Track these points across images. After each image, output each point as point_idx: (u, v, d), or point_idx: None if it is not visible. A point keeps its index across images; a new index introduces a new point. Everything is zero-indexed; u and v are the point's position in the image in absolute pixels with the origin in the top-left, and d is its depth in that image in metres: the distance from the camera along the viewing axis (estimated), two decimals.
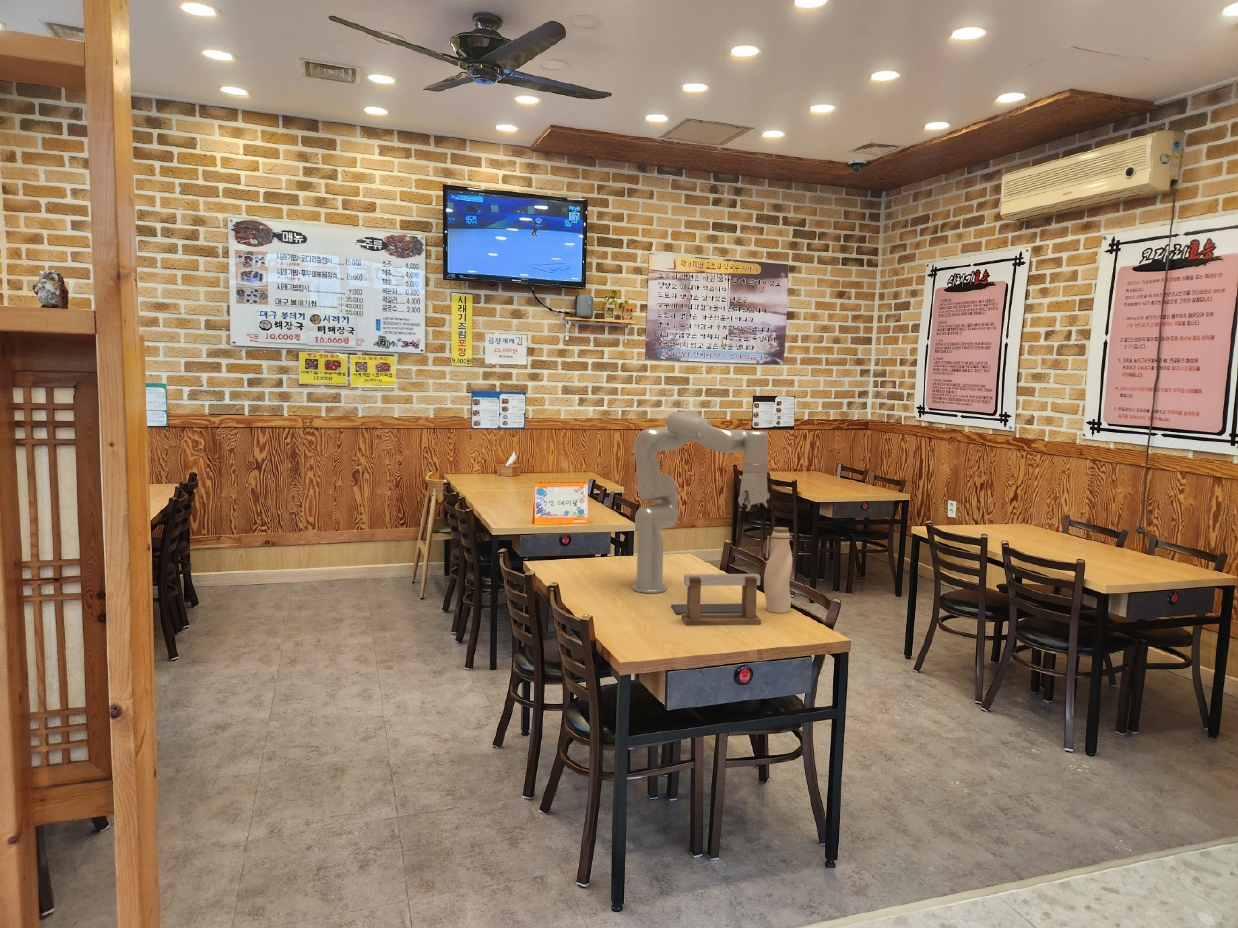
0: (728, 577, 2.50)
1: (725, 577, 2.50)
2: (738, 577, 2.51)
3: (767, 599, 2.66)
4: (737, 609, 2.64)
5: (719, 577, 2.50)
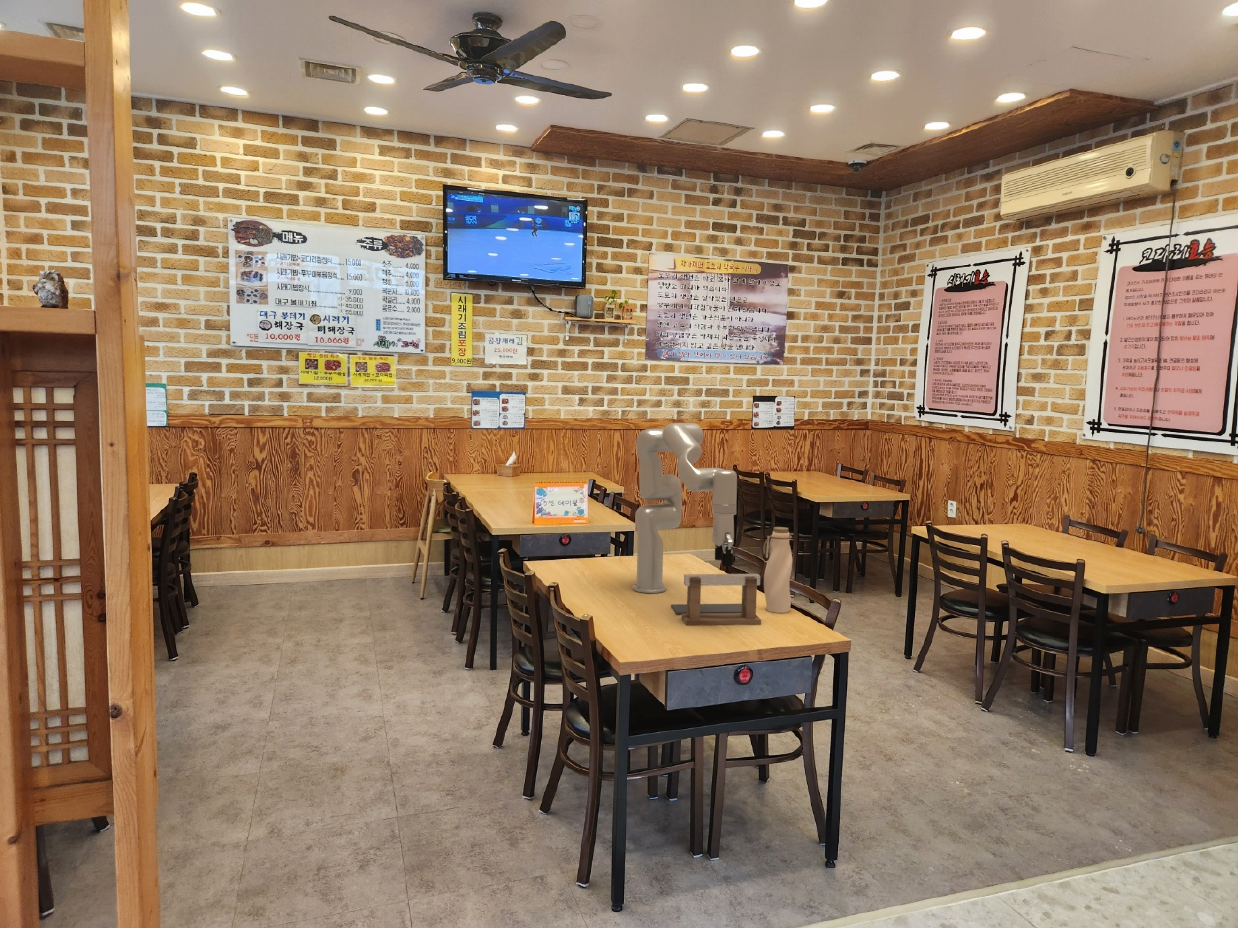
0: (728, 577, 2.50)
1: (725, 577, 2.50)
2: (738, 577, 2.51)
3: (767, 599, 2.66)
4: (737, 609, 2.64)
5: (719, 577, 2.50)
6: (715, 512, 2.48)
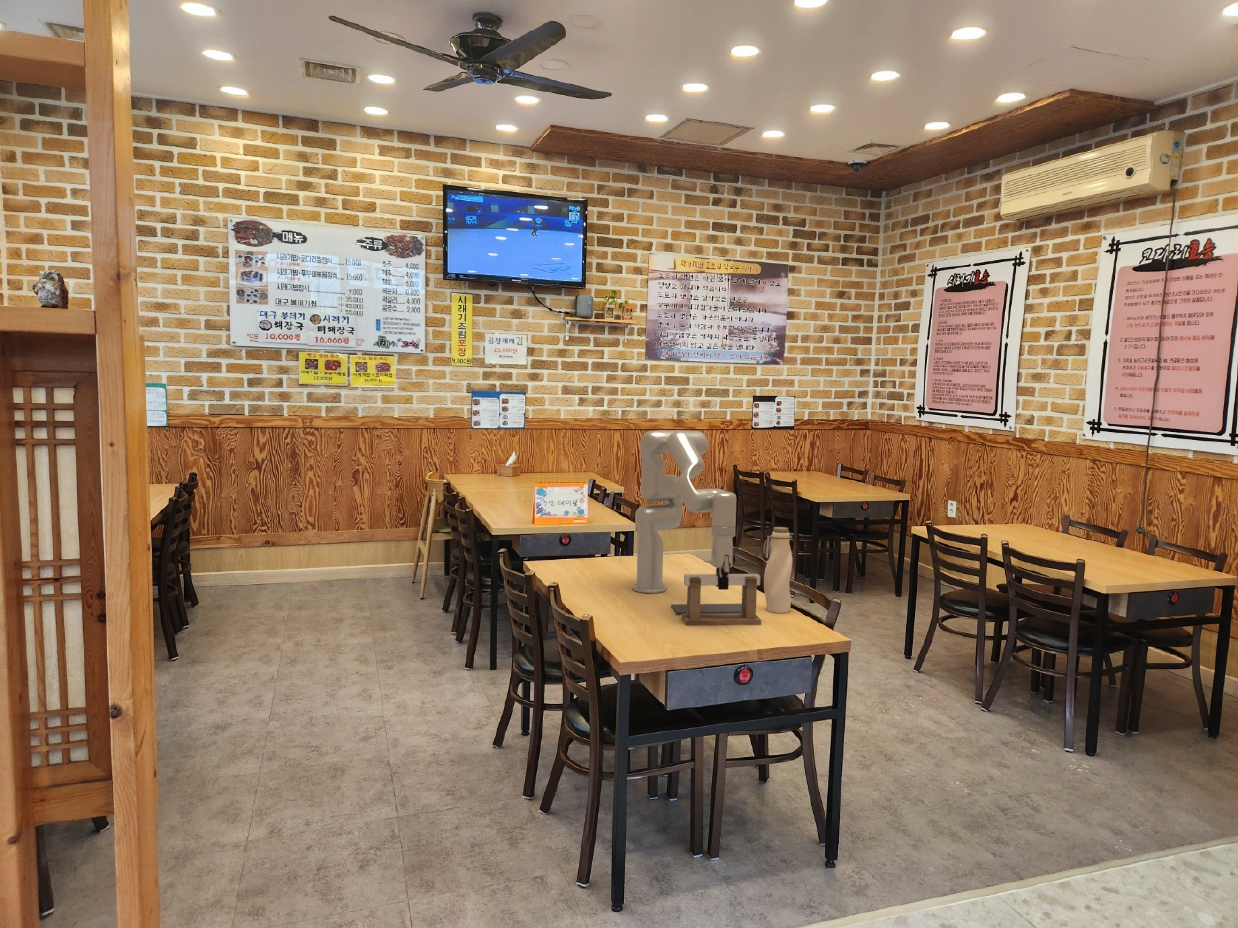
0: None
1: None
2: (738, 577, 2.51)
3: (767, 599, 2.66)
4: (737, 609, 2.64)
5: None
6: (714, 534, 2.48)
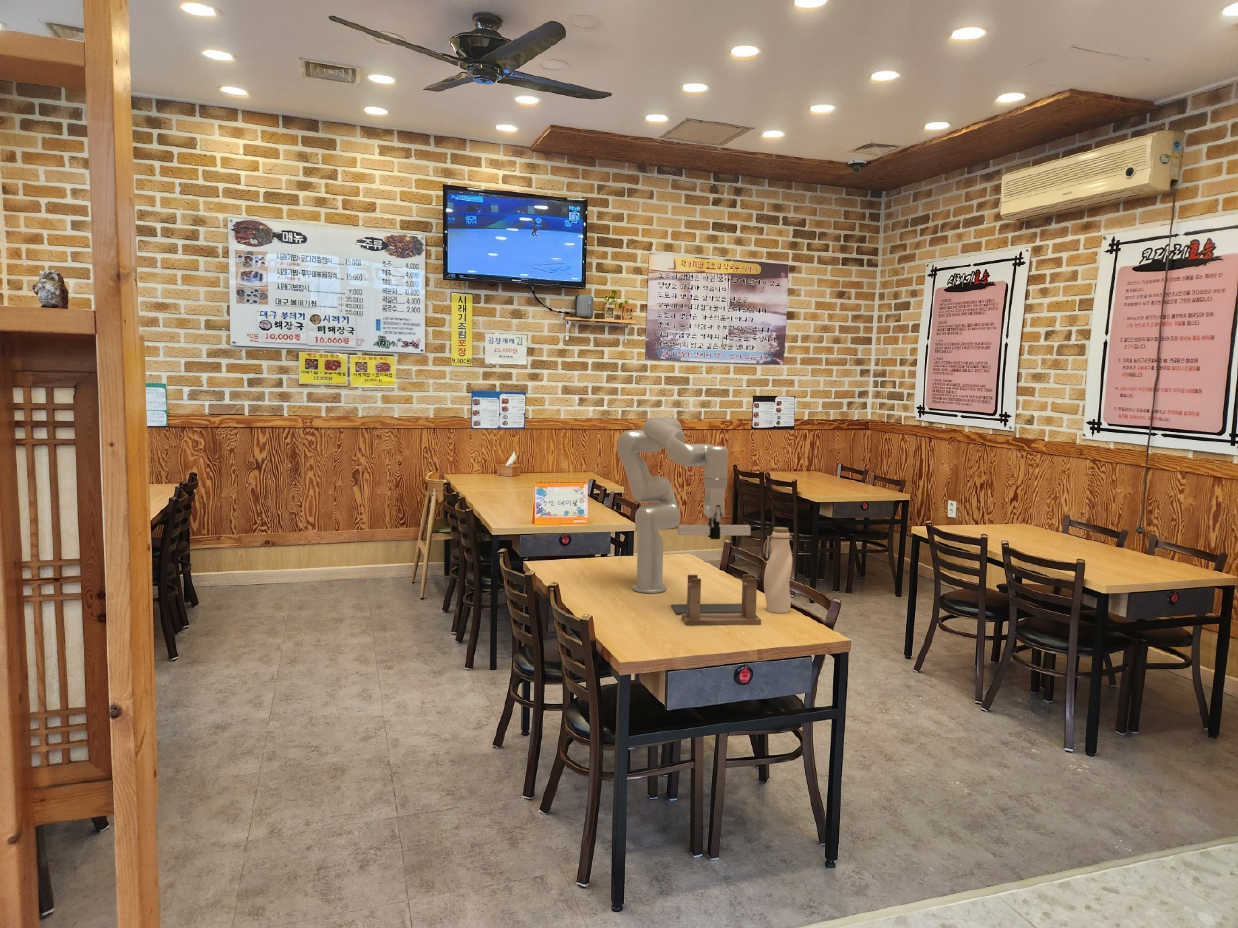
0: (720, 527, 2.62)
1: None
2: (729, 527, 2.62)
3: (767, 599, 2.66)
4: (737, 609, 2.64)
5: None
6: (707, 486, 2.60)
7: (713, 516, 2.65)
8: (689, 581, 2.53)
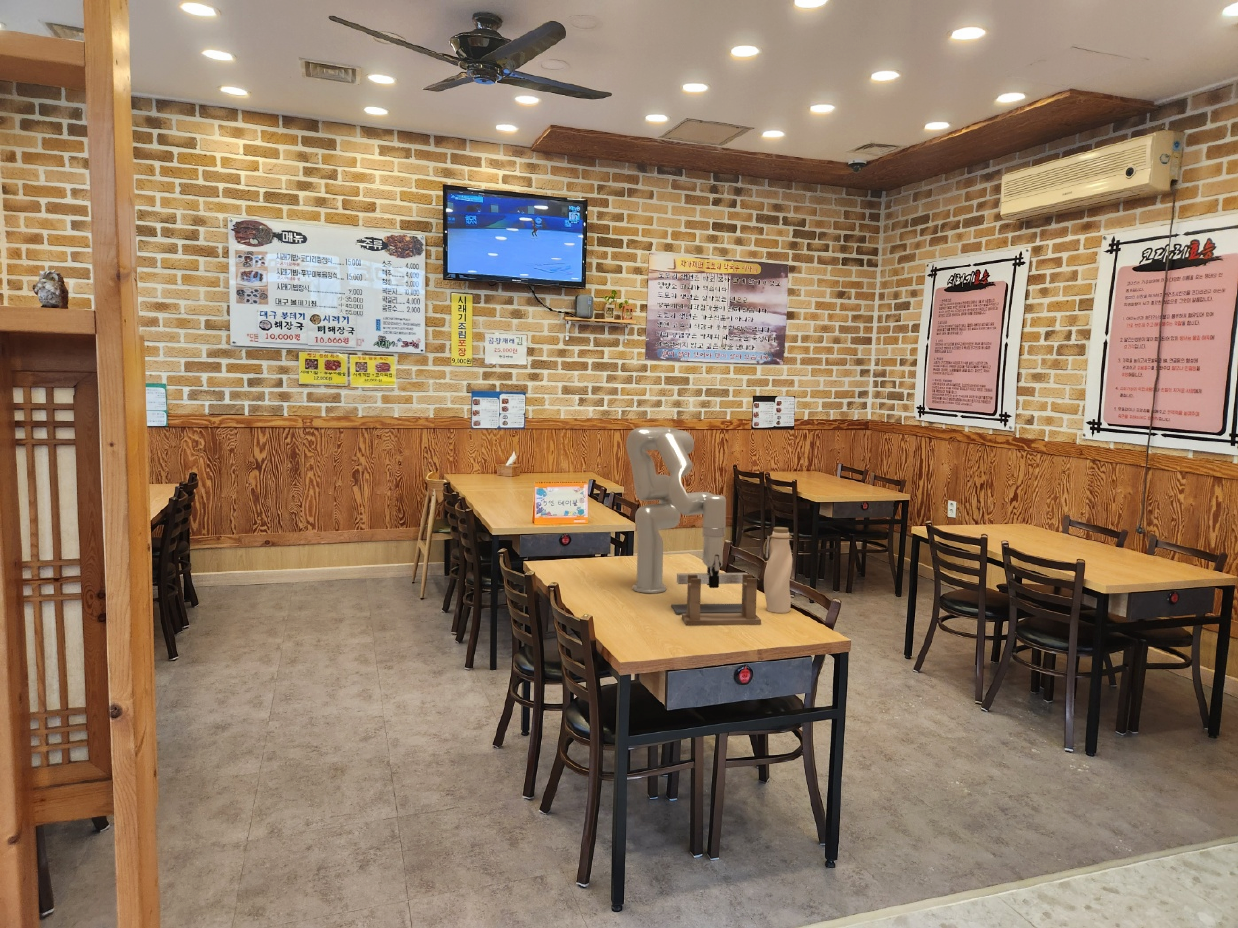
0: (719, 576, 2.64)
1: None
2: (728, 576, 2.64)
3: (767, 599, 2.66)
4: (737, 609, 2.64)
5: None
6: (705, 535, 2.62)
7: (712, 564, 2.66)
8: (689, 581, 2.53)
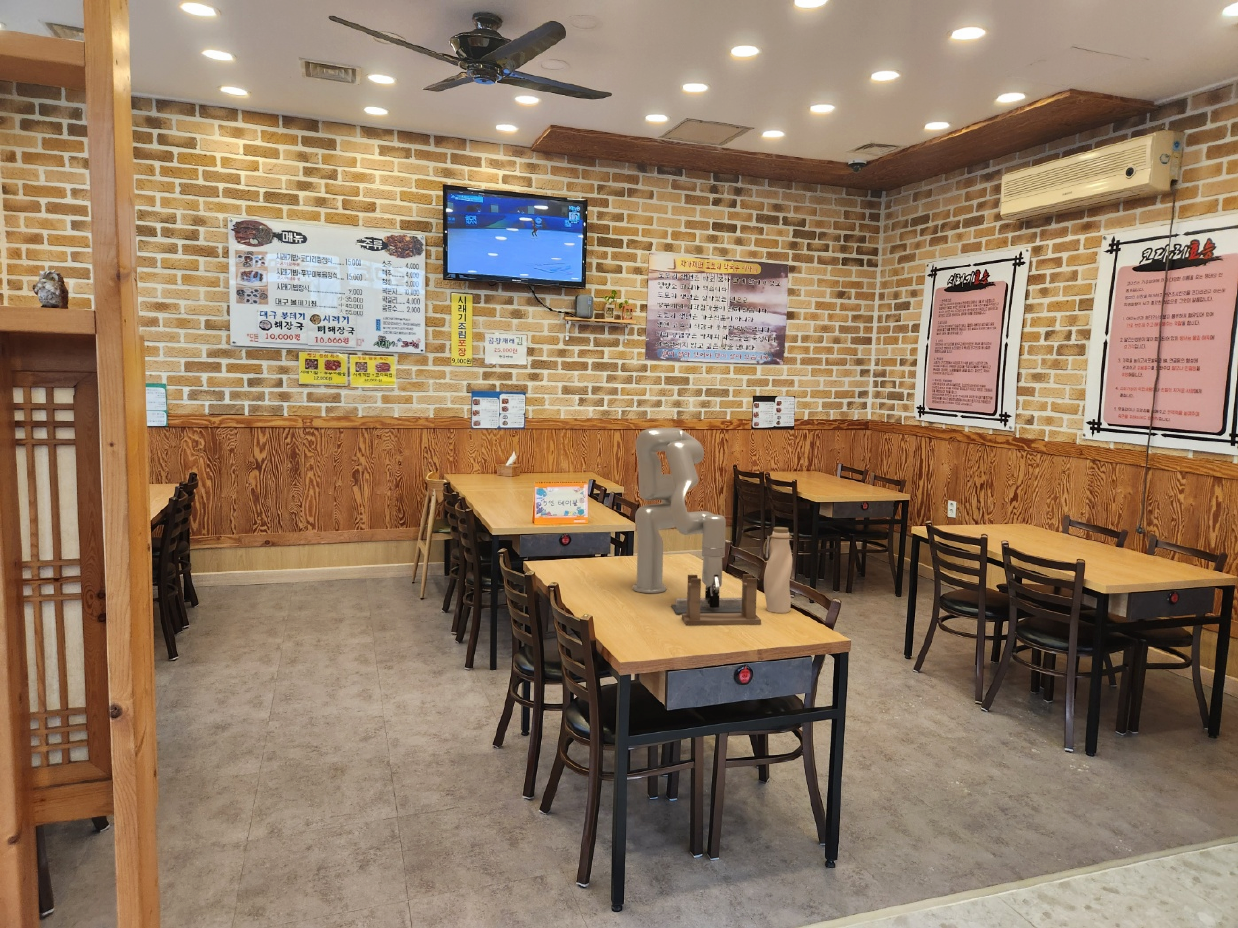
0: None
1: None
2: (727, 601, 2.65)
3: (767, 599, 2.66)
4: (737, 609, 2.64)
5: (709, 601, 2.64)
6: (705, 555, 2.62)
7: None
8: (689, 581, 2.53)
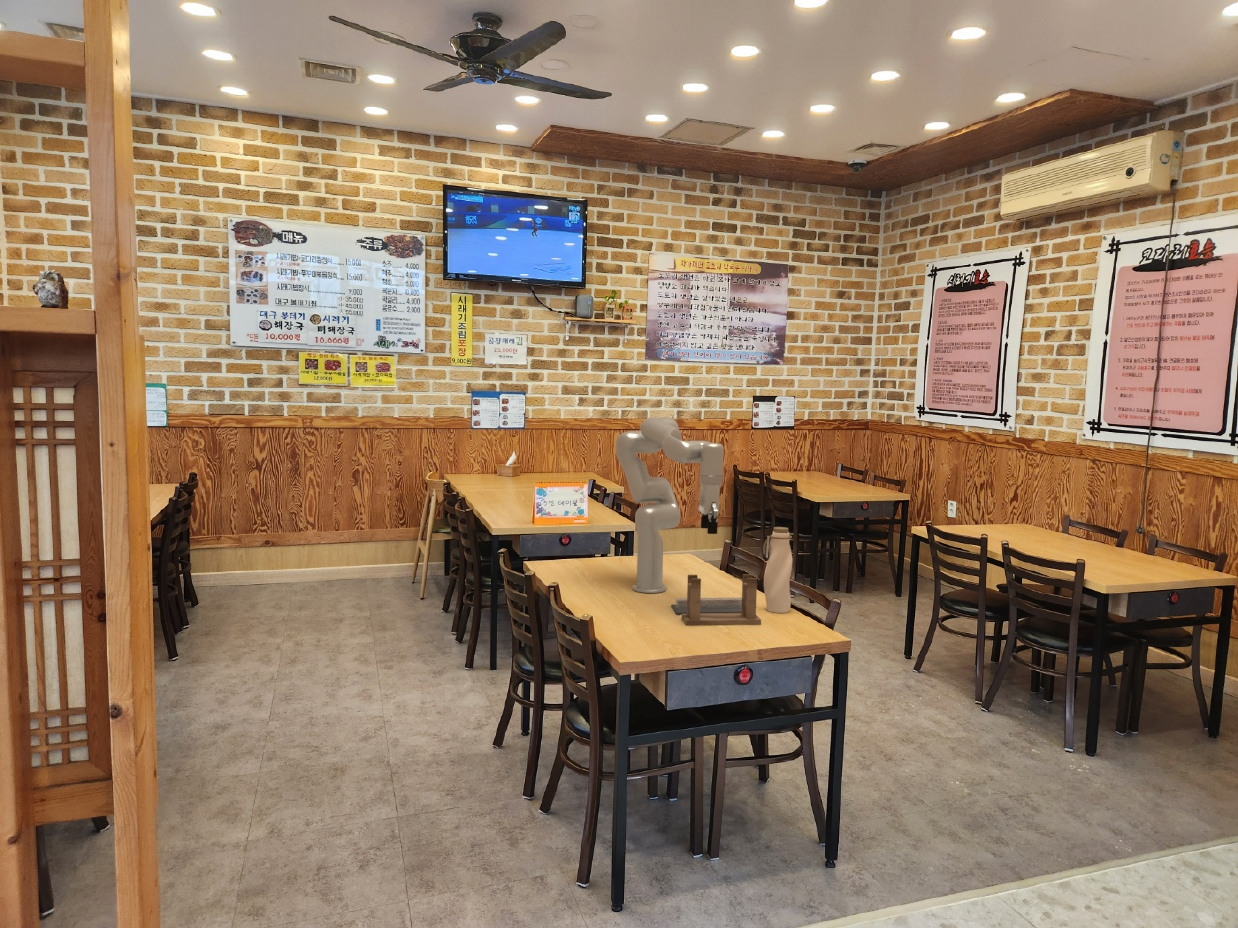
0: (717, 601, 2.65)
1: (715, 601, 2.64)
2: (727, 601, 2.65)
3: (767, 599, 2.66)
4: (737, 609, 2.64)
5: (709, 601, 2.64)
6: (702, 483, 2.61)
7: None
8: (689, 581, 2.53)
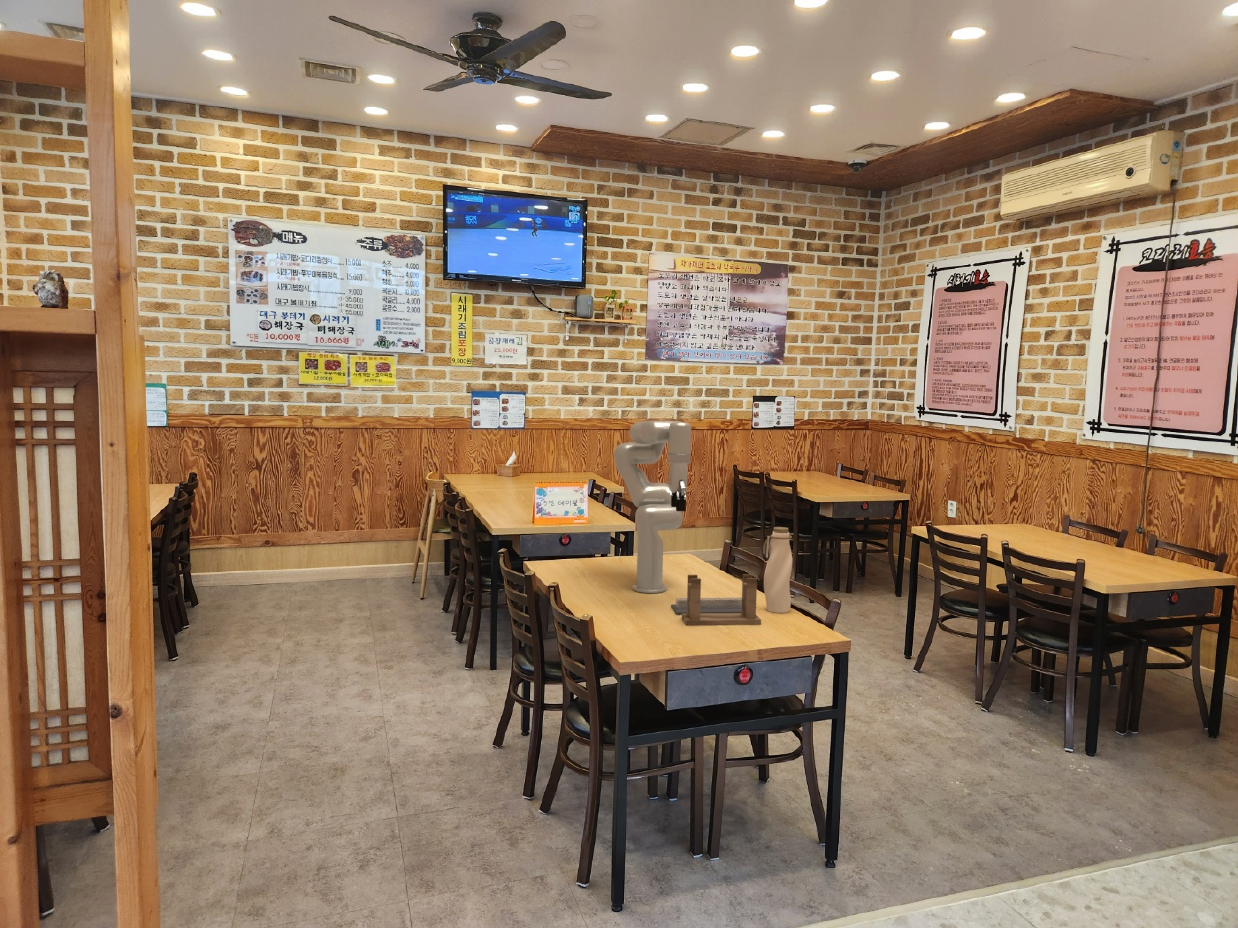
0: (717, 601, 2.65)
1: (715, 601, 2.64)
2: (727, 601, 2.65)
3: (767, 599, 2.66)
4: (737, 609, 2.64)
5: (709, 601, 2.64)
6: (670, 461, 2.65)
7: None
8: (689, 581, 2.53)
